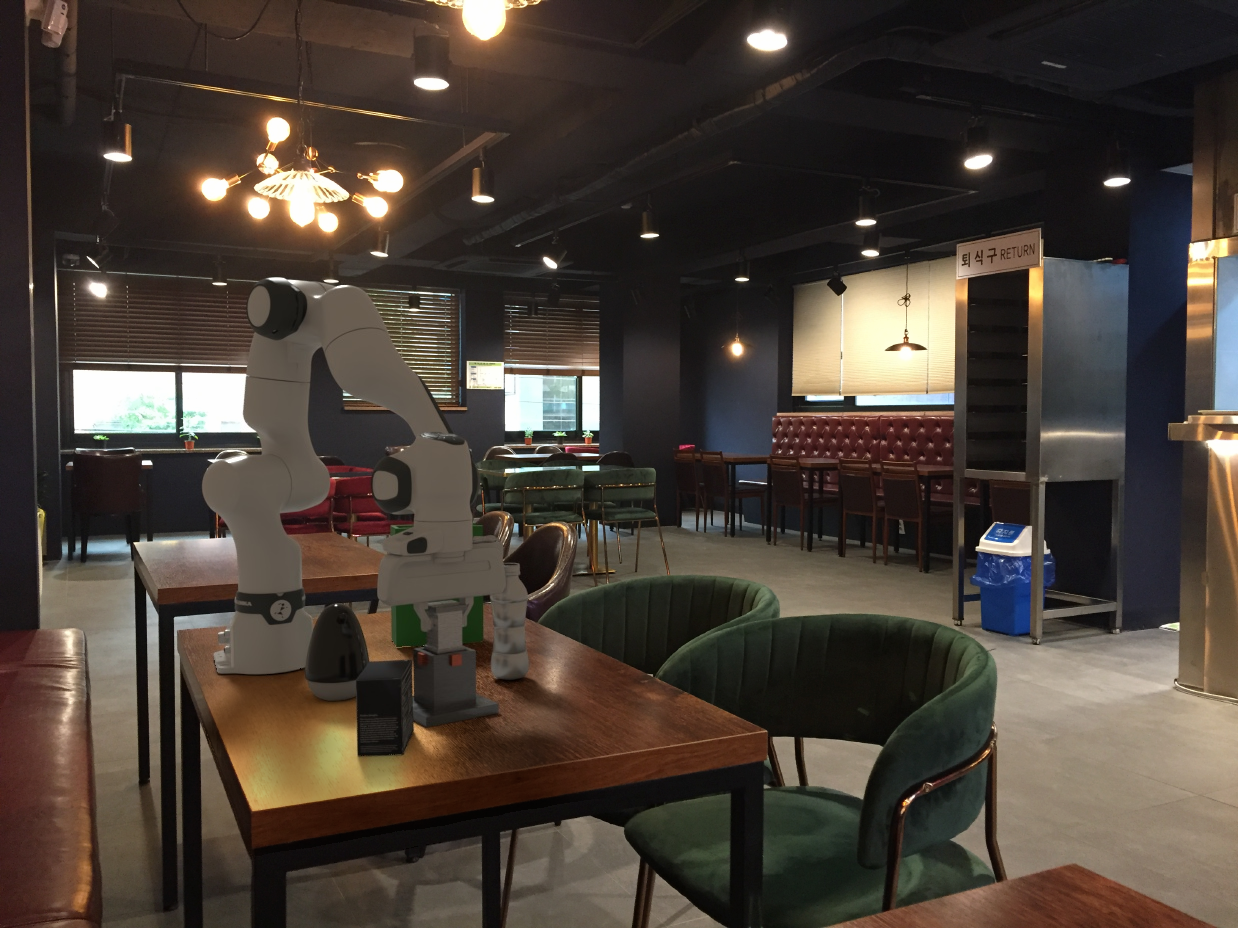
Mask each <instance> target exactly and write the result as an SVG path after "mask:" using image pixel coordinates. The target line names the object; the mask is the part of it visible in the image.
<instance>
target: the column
mask: <svg viewBox="0 0 1238 928" xmlns="http://www.w3.org/2000/svg"><path fill="white" fill-rule="evenodd" d="M424 610H426V614H427V615H428V617H429V618H431V619H434V620H435V624H434V626H435V629H434V631H428V632H427V645H424V649H425V650H427V652H430V653H432V654H435V655H440V654H447V653H454V652H460V651H463V650H465V647H466V646H465V645H463V643H462V610H467V604H463V603H460V602H456V601H453V600H448V601H440V602H431V603H428V609H424Z"/></svg>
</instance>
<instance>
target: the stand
mask: <svg viewBox="0 0 1238 928" xmlns="http://www.w3.org/2000/svg"><path fill="white" fill-rule="evenodd" d="M476 651H477V650H475V649H472V648H470V647H468V646H465V650H463V651H460V652H454V653H447V654H440V655H435V654H432V653H430V652H427V650H425V649H424V647H413V652H412V653H413V654H412V655H413V660H412V662H413V695H412V697H413V720H414V722H415V723H418V724H419V725H421V726H423V727H425V728H431V727H436V726H441V725H446V724H447V725H448V724H451V723H457V722H461V721H466V720H470V719H471V720H472V719H476V718H481V717H482V718H483V717H486V716H491V715H496V714H499V713H500V711H499V707H500V706H499V705H500V704H499V702H497V701H495V700H492V699H489V698H488V697H486V696H483V695H480V694H478V693H477V658H476V657H477V655H476V654H477V653H476Z"/></svg>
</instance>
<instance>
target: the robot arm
mask: <svg viewBox="0 0 1238 928" xmlns="http://www.w3.org/2000/svg"><path fill="white" fill-rule="evenodd" d="M245 309H246V310H245V313H246V317H247V321H248V323H249V325H250V327H251V330H253V331H254V333H253V336H252V340H251V344H250V348H249V352H248V357H247V365H246V373H245V375H246V376H245V383H244V394H243V395H244V396H243V405H242V407H243V408H242V417H243V420H244V422H245V424H247V426H248V427H249V428H250V429H252V430H254V431H255V432H256V433H257V435H258V436H257V437H258V438H259V442H260V446H261V454H239V455H233V456H230V457H227V458H223V459H219V460H216V461H213V463H211V464H210V465H209V466H208V468H207V469H206V471H205V473H204V474H203V478H202V481H201V483H202V484H201V490H202V495H203V498H204V501H205V503H206V504H207V506H208V508H210V510H212V511H213V512H214V513H216V514H217V515H218V516H219V517H221V519H222V520H223V522H224V523H225V524H226V526H227V528H228V530H229V533H230V534H231V536H232V539H233V542H234V543H233V544H234V546H235V551H236V560H237V561H236V562H237V578H238V579H237V581H238V582H237V585H238V588H237V589H238V590H236V592H235V597H234V610H235V612H234V615H233V616H232V618H231V619H230V621H229V623H228V624H227V626H226V628H225V630H224V631H219V632H217V643H218V645H219V646H221V645H225V646H224V648H223V649H222V650H218V651H216V652H214V653H213V656H214V659H213V661H214V660H215V663H214V666H215V665H216V666H215V669H216V668H217V670H216V673H217V672H218V673H217V674H242V675H243V674H244V675H267V674H268V675H269V674H279V673H280V674H281V673H287V672H292V671H297V670H300V668H301V669H305V664H306V657H307V652H308V647H309V643H310V639H311V635H312V632H313V629H314V622H313V617H312V616H311V615H310V614H309V613H307V612H306V611H305V608H304V607H305V606H306V594H305V588H304V587H303V576H302V575H303V567H302V565H303V564H302V563H303V560H302V559H303V557H302V553H303V552H302V547H301V545H300V544H299V542H298V541H297V540H296V539H294V538H293V537H291V536H289V535H288V534H287V532H286V531H285V529H284V527H283V523H282V519H281V514H285V513H295V512H301V511H304V510H307V509H311V508H313V507H315V506H318V505H320V504H321V503H322V502H324V500H326V499H327V497H328V495H329V493H330V489H331V488H330V487H331V477H330V472H329V470H328V468H327V466H326V465H325V464H324V463H323V461H322V460H321V459H320V458H319V456H317V454H316V452H315V449H314V447H313V444H312V441H311V440H312V439H311V436H310V430H309V421H308V418H309V401H310V389H311V373H312V360H313V356H314V354H315V353H316V351H317V350H318V349H320V348H322V350H323V353H324V356H325V359H326V362H327V366H328V368H329V371H330V373H331V375H332V377H333V379H334V380H335V382H336V383H337V385H338V387H340V388H341V390H342V391H344V392H345V393H346V394H348V395H350V396H352V397H354V398H356V399H359V400H361V401H364V402H368V403H371V404H374V405H377V406H379V407H382V408H385V409H387V410H389V411H391V412H393V413H395V414H396V415H397V416H400V418H401V419H403V420H404V421H405V422H406V423H407V424H408V425H409V427H410V429H411V431H412V433H413V435H414V437H415V440H414V441H413V443H411V445H409V446H408V447H406V448H404V449H403V450H401V451H397V452H396V453H393V454H390V455H385V456H383V457H382V458H380V460H379V461H378V462H377V464H375V466H374V468H373V471H372V473H371V478H370V490H371V491H370V492H371V496H372V498H373V500H374V502H375V504H376V505H377V506H378V507H379V508H380V510H382V511H383V512H384V513H387V514H392V515H413V514H414V517H413V525H414V527H412V528H409V529H407V530H405V531H402V532H400V533H398V534H395V535H392V536H391V535H390V536H387V537H386V538H384V540H383V541H382V550H383V551H384V552H385V553H387V554H385V555H383V557H382V559H380V563H379V566H378V574H377V584H376V585H377V588H376V589H377V598H378V600H379V601H380V602H381V603H382V604H383V605H386V606H390V607H391V606H396V605H405V604H414V610H415V611H416V613H417V615H418V616H419V618H420V619H421V630H422V631H424V632H428V631H434V629H435V626H434V624H435V620H434V619H431V618H429V617H428V615H427V614H426V612H425V610H424V609H428V602H432V601H440V600H449V599H458V598H459V602H460V603H463V604H467V610H462V627H465V626H467V615H468V613H469V612H470V610H471V608H472V606H473V604H474V600H473V597H475V596H483V597H484V596H490V595H493V594H501V593H502V592H503V590H504V588H505V586H506V581H505V570H504V563H505V562H504V558H503V557H504V544H503V542H502V541H501V540H500V539H499V537H496V536H495V535H491V534H490V535H483V536H473V534H472V523H473V513H472V511H471V506H472V505H473V504H474V503H475V500H476V499H477V497H478V495H479V492H480V489H481V477H480V472H479V469H478V467H477V464H476V463H475V461H474V460H473V459H472V457H471V452H470V449H469V448H470V447H469V445H468V442H467V440H466V439H465V438H463V437H462V436H460V435H457V434H455V433H454V432H453V430H452V428H451V425H450V424H449V423H448V421H447V419H446V416H445V414H444V413H443V411H442V410H441V408H440V406H439V404H438V402H437V400H436V398H435V396H434V395H433V393H432V391H431V390H430V388H429V387H428V385H427V383H426V382H425V381H424V380H423V379H422V377H421V376H419V375H418V373H417V372H415V371H414V370H413V369H412V368H411V367H410V365H408V364H407V363H406V361H405V360H404V358H403V357H402V356H401V355H400V352H399V351H398V350H397V348H396V346H395V345H394V343H393V340H392V339H391V336H390V333H389V331H388V328H387V325H386V324H385V321H384V319H383V318H382V315H381V314H380V312H379V310H378V309H377V307H376V305H375V303H374V302H373V299H371V298H370V295H368V293H367V292H366V291H365V290H363V289H362V288H360V287H358V286H354V285H351V284H350V285H349V284H346V285H345V284H344V285H337V286H336V285H332V284H328V283H324V282H320V281H315V280H313V281H309V280H308V281H307V280H298V279H286V278H285V277H267V278H263V279H259V280H258V281H257V282H256V283H255V284H254V285H253V287H252V288H251V289H250V291H249V292H248V296H247V300H246V307H245Z"/></svg>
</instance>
